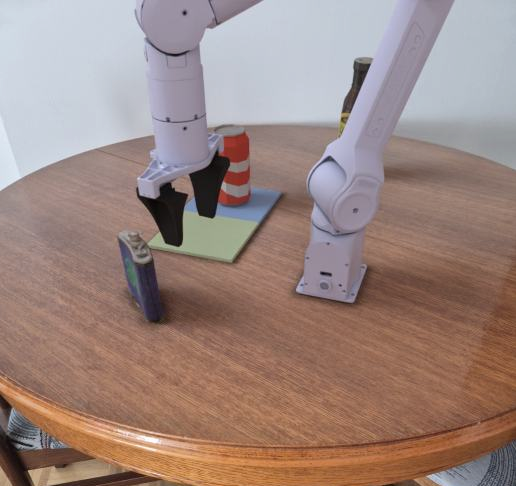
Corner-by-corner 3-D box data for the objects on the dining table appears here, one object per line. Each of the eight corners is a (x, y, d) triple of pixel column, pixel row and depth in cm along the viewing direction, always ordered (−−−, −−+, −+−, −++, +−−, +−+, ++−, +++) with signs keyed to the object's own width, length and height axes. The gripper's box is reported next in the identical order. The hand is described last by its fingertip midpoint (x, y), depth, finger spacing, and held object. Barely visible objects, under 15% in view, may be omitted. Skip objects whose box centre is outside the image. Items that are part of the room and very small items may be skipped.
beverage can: (238, 211, 91) (235, 139, 83) (207, 203, 93) (201, 132, 85) (257, 197, 94) (255, 127, 87) (226, 189, 97) (222, 120, 89)
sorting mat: (231, 263, 80) (231, 259, 79) (147, 247, 83) (146, 244, 83) (281, 194, 97) (281, 191, 96) (209, 184, 100) (209, 181, 100)
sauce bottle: (329, 178, 102) (337, 61, 89) (341, 166, 106) (351, 53, 93) (362, 184, 99) (376, 65, 86) (373, 172, 103) (388, 57, 90)
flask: (125, 289, 75) (111, 218, 68) (146, 283, 76) (134, 213, 69) (148, 326, 69) (134, 252, 62) (170, 319, 70) (159, 246, 63)
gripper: (184, 90, 63) (194, 199, 72) (104, 129, 54) (127, 249, 62) (237, 98, 61) (241, 209, 70) (164, 141, 51) (179, 264, 60)
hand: (190, 229), depth 66 cm, fingers open, 7 cm apart
